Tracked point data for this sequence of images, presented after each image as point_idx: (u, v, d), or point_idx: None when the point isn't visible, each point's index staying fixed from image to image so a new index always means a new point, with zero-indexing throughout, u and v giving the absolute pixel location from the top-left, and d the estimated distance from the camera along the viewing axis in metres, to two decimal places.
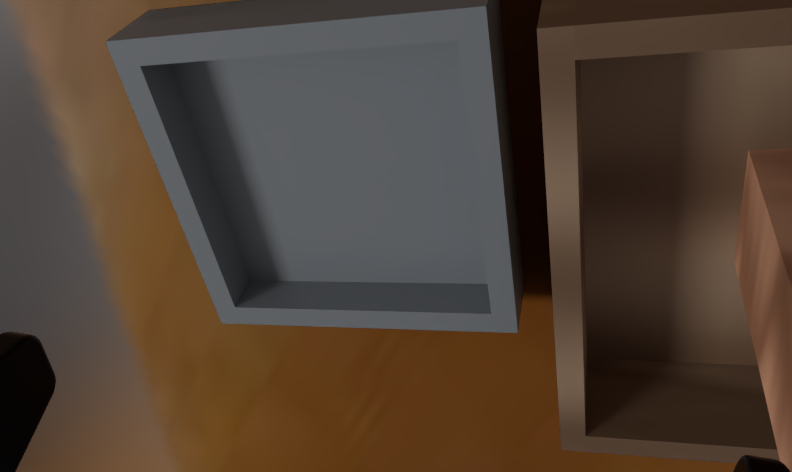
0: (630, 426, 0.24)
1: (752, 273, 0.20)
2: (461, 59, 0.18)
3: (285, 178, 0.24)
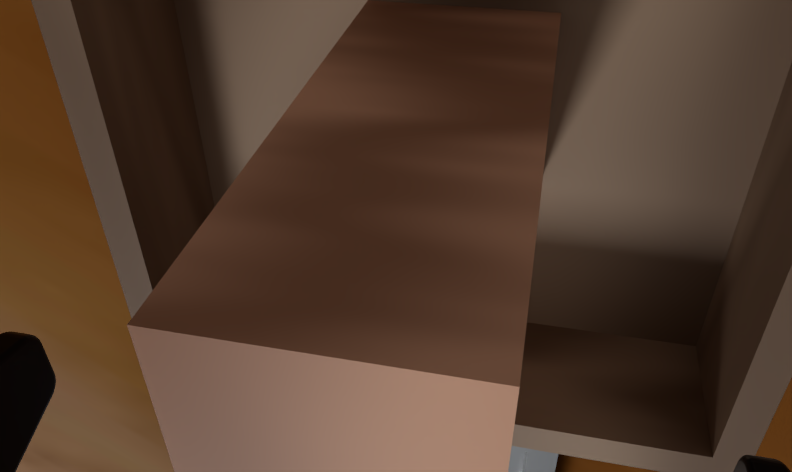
0: (726, 397, 0.16)
1: None
2: None
3: None
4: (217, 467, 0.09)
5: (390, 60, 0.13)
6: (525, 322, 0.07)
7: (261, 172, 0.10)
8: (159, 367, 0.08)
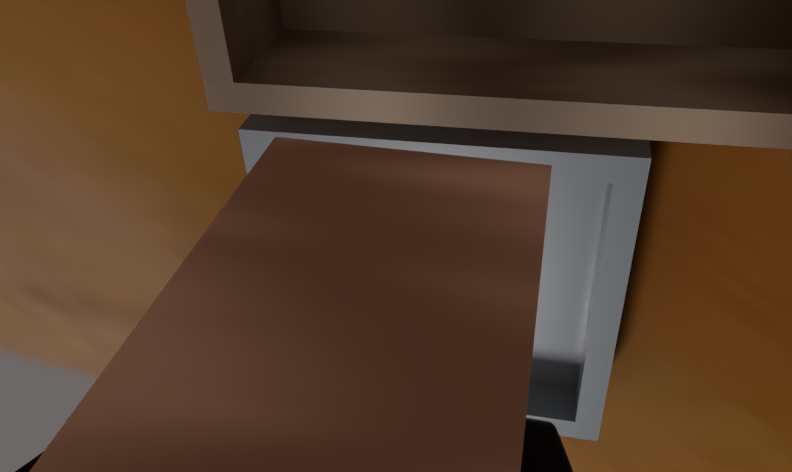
0: None
1: None
2: None
3: None
4: None
5: (280, 275, 0.08)
6: None
7: None
8: None
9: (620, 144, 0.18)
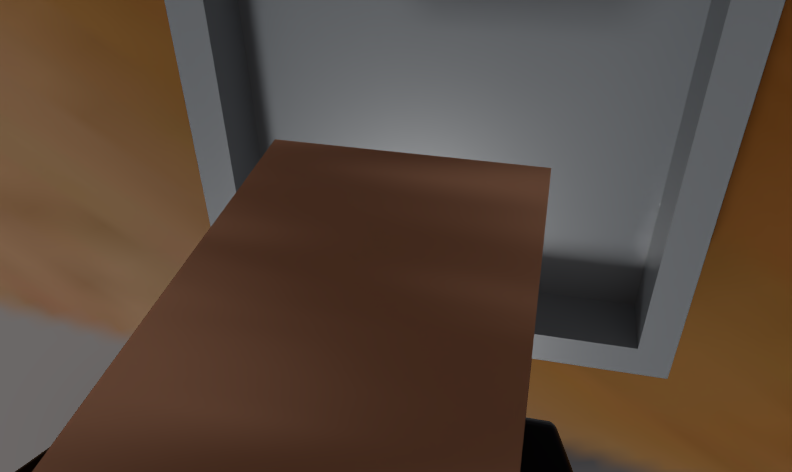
0: None
1: None
2: None
3: None
4: None
5: (280, 279, 0.08)
6: None
7: None
8: None
9: None
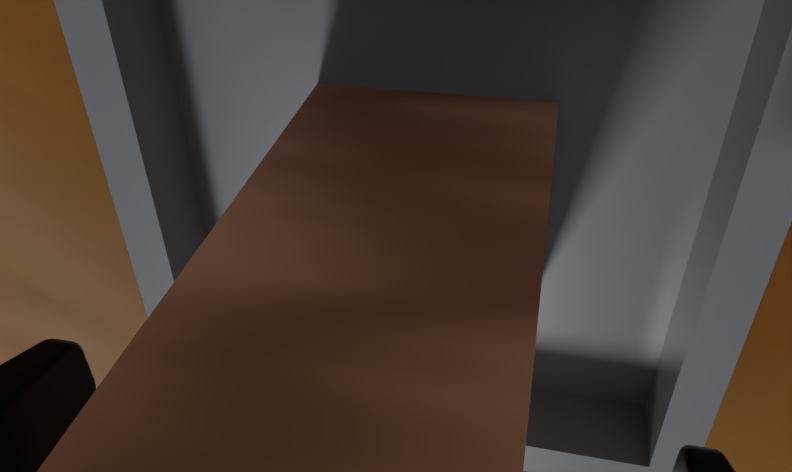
0: None
1: None
2: None
3: None
4: None
5: (332, 184, 0.10)
6: None
7: (119, 400, 0.07)
8: None
9: None
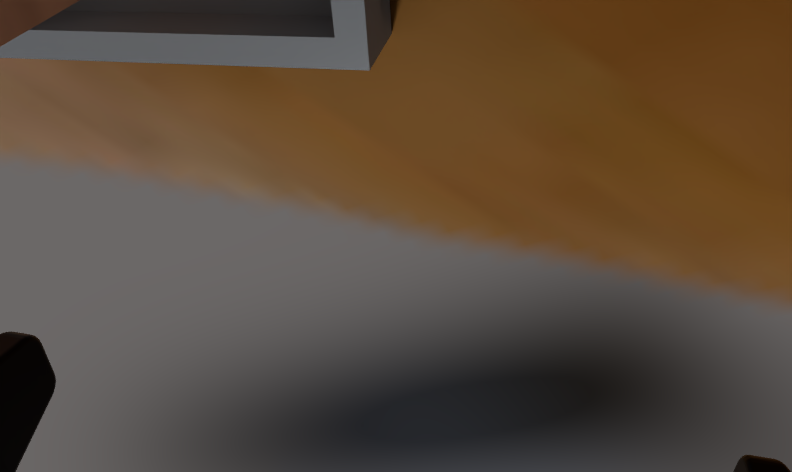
0: None
1: None
2: None
3: None
4: None
5: None
6: None
7: None
8: None
9: None
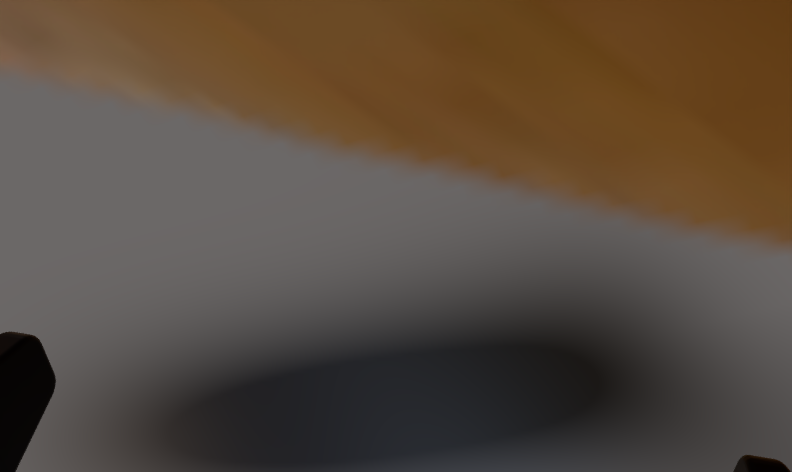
0: None
1: None
2: None
3: None
4: None
5: None
6: None
7: None
8: None
9: None
